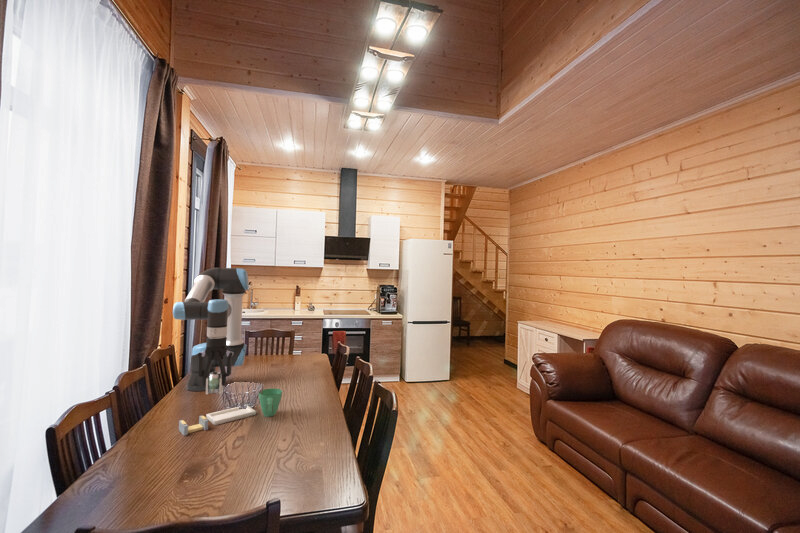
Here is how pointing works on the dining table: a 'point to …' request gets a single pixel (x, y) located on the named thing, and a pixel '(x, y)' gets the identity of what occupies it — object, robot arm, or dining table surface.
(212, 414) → the tray
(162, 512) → the dining table surface
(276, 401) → the mug
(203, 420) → the cradle
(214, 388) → the cell
